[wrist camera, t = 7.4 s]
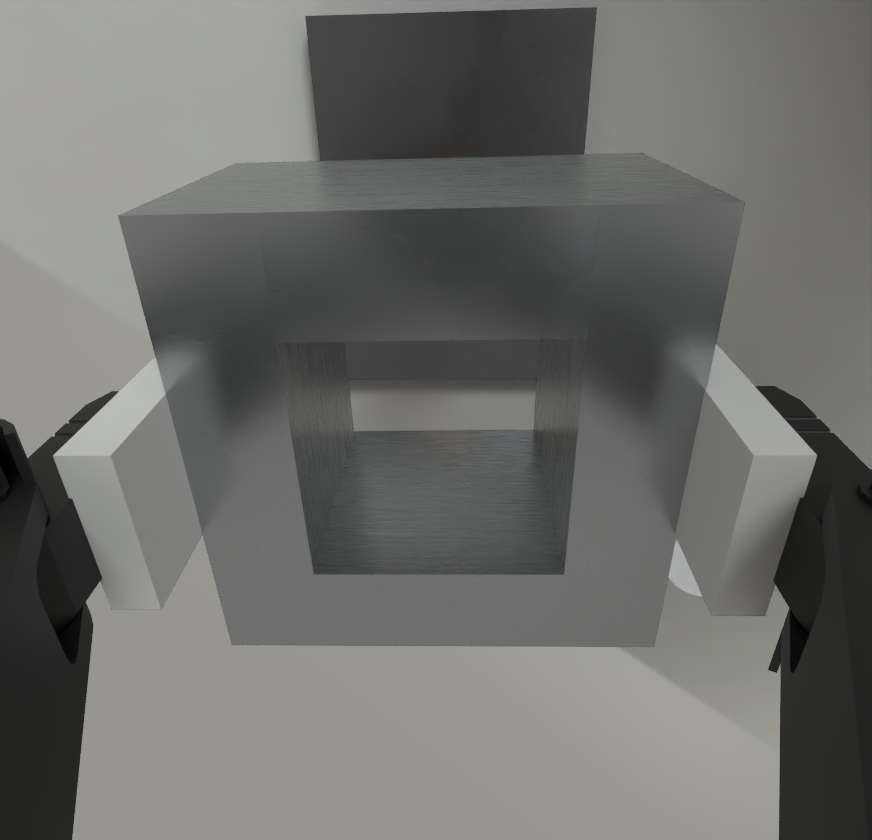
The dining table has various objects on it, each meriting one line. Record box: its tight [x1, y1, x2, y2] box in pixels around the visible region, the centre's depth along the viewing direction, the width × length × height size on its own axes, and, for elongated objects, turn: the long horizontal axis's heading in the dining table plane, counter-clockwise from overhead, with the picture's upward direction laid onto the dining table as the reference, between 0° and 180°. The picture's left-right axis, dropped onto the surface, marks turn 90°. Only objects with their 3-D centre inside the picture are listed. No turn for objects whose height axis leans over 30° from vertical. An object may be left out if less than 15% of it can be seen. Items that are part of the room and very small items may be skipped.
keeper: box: [306, 8, 597, 380], centre depth 23 cm, size 14×10×7 cm
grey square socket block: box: [118, 153, 745, 647], centre depth 12 cm, size 8×8×5 cm
